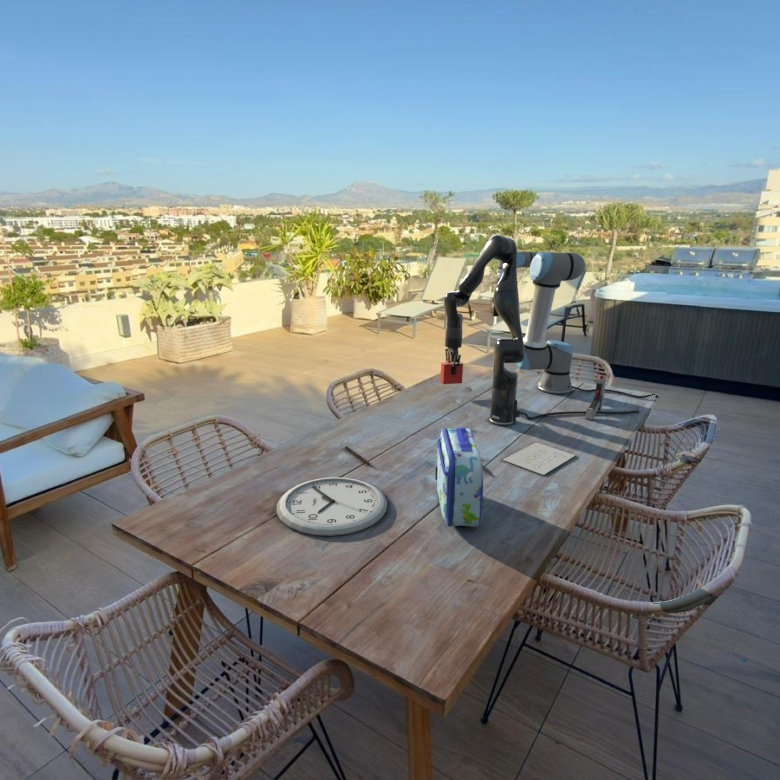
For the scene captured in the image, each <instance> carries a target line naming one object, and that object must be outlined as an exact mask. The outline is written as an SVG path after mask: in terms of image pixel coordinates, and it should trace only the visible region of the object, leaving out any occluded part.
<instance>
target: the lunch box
mask: <svg viewBox="0 0 780 780" xmlns="http://www.w3.org/2000/svg"><path fill="white" fill-rule="evenodd" d="M436 444H437V458H436V459H437V464H436V465H437V466H436V467H435V480H434V481H436V483H437V484H436V490H437V491H436V492H437V495H438V501H439V507H440V512H441V516H442V518H443V520H444V523H445V525H447V527H449V528H450V527H457V526H461V527H473V528H478V527H479V526H480V524H481V522H482V514H483V501H484V500H483V499H484V473H483V472H484V470H482V466H483V464H482V460H481V459H482V458H481V454H480V451H479V449H478V445H477V443H476V440H475V437H474V433H473V430H472V429H471V428H466V427H455V428H447V427H446V428H445V427H444V428H441V432H440V436H439V438H438V439H437V442H436Z"/></svg>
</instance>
